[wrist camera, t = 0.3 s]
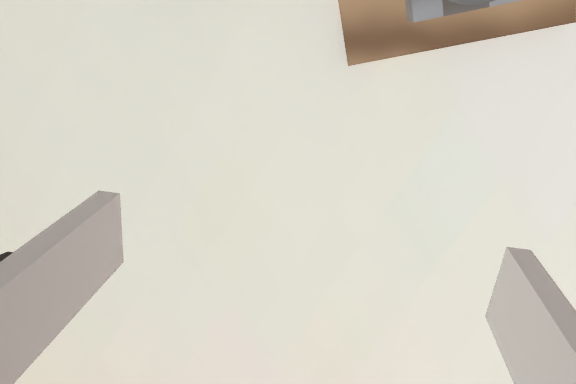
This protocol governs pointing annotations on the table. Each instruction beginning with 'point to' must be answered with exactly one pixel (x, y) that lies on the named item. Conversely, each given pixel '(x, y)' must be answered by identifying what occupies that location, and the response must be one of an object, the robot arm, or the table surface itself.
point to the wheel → (470, 1)
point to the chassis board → (439, 24)
